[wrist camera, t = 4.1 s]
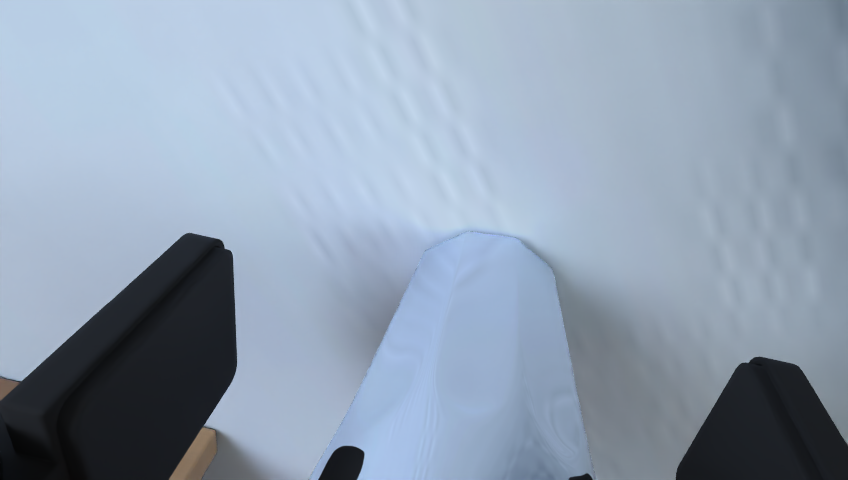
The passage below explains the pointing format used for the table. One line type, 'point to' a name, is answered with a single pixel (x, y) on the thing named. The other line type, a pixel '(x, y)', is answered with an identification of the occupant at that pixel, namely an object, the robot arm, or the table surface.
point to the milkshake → (468, 377)
